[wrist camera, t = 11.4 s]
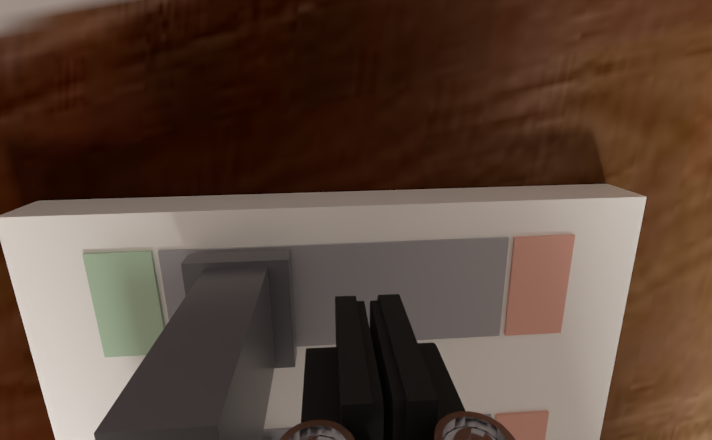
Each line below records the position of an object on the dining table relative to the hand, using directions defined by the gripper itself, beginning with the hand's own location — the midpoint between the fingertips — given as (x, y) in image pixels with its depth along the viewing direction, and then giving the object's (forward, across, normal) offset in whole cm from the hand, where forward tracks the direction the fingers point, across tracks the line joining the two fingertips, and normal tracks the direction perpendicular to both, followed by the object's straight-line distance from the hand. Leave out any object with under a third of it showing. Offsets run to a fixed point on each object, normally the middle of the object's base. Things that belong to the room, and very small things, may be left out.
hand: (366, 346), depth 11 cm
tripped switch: (+3, +3, 0) cm, 4 cm away
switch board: (+5, 0, +7) cm, 9 cm away
